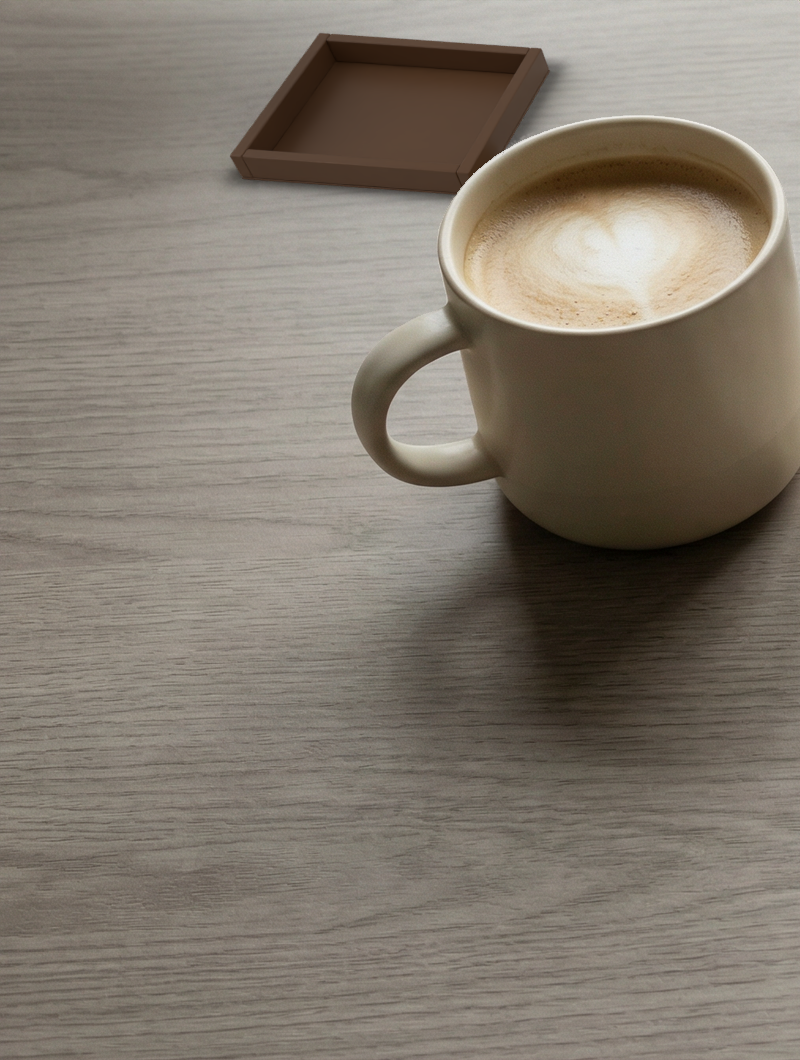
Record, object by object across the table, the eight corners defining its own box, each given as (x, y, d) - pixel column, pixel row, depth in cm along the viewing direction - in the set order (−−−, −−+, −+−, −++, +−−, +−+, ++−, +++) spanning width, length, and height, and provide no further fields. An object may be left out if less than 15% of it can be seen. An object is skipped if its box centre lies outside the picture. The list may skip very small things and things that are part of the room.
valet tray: (247, 188, 94) (228, 155, 93) (334, 65, 102) (319, 32, 100) (482, 206, 94) (468, 173, 92) (553, 80, 101) (541, 47, 99)
